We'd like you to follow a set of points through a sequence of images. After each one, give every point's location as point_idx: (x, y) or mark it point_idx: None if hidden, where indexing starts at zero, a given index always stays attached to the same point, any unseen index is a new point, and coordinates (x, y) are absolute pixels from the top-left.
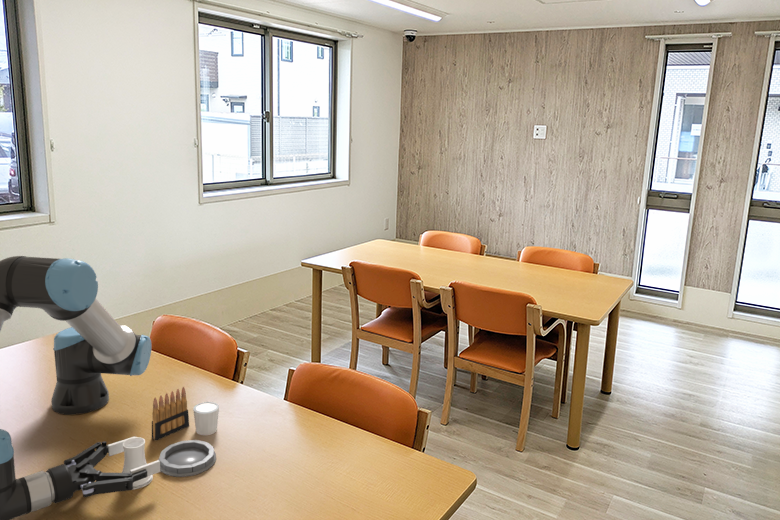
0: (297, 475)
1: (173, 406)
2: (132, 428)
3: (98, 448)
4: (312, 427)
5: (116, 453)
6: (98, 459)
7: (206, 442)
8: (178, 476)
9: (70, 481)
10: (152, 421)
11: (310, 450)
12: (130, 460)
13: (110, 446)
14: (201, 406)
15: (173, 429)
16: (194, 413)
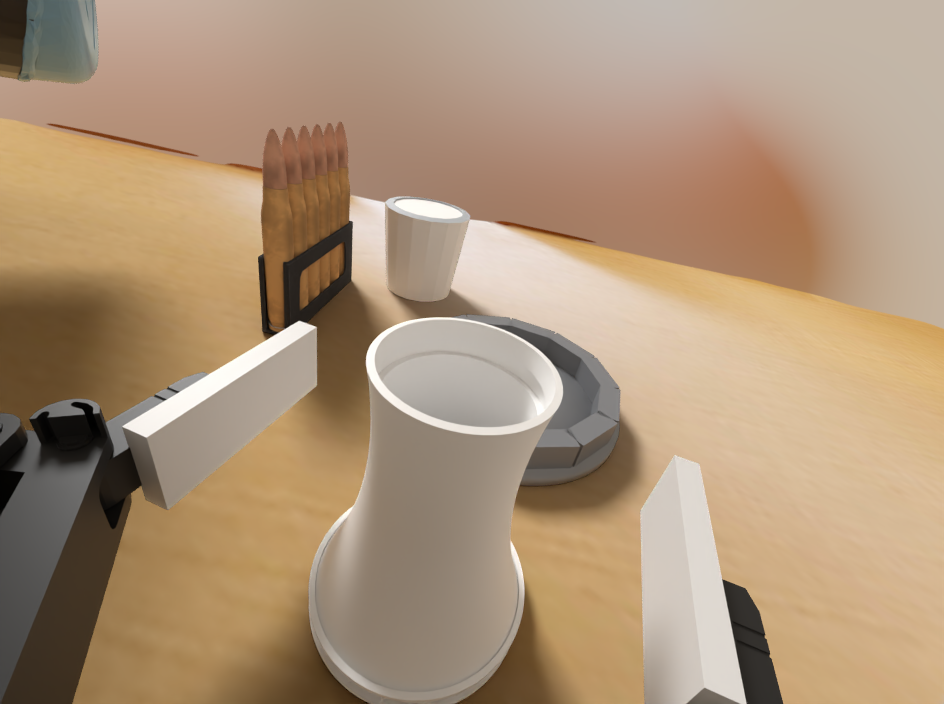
0: (798, 374)
1: (326, 197)
2: (131, 303)
3: (17, 495)
4: (616, 265)
5: (216, 465)
6: (78, 621)
7: (508, 318)
8: (578, 477)
9: None
10: (263, 257)
11: (699, 310)
12: (479, 523)
13: (162, 434)
14: (409, 206)
15: (326, 291)
16: (404, 227)
